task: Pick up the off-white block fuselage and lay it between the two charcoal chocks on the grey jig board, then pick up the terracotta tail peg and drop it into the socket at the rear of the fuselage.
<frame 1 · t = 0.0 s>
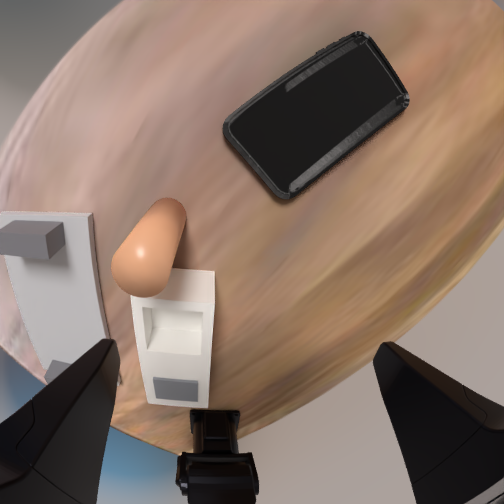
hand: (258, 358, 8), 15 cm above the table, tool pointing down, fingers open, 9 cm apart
tail peg: (167, 216, 21), on the table
fuselage: (179, 326, 26), on the table
jig board: (59, 306, 23), on the table
phone: (322, 107, 19), on the table
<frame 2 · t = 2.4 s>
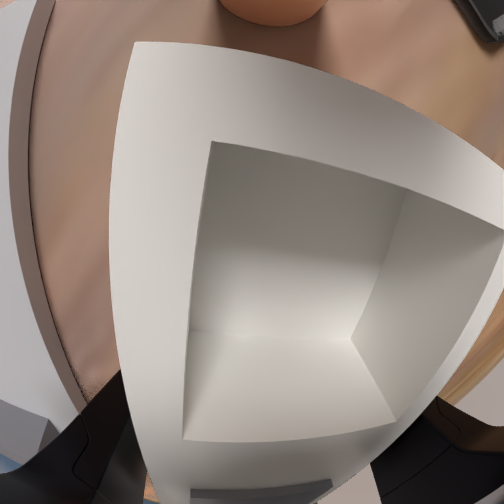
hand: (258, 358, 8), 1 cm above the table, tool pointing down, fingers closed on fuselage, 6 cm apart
fuselage: (255, 327, 9), on the table, touching gripper
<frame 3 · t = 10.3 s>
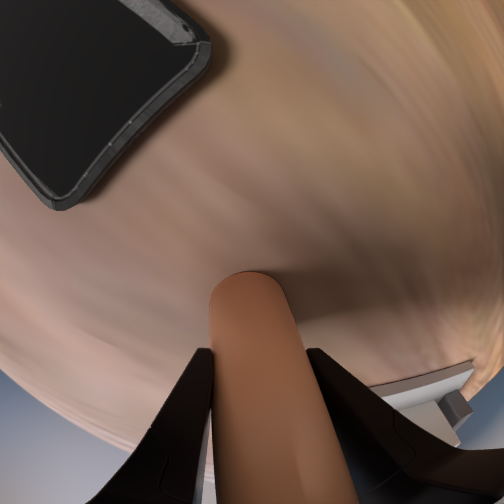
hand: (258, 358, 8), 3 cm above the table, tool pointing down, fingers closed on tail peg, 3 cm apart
tail peg: (247, 304, 11), on the table, touching gripper
fuselage: (356, 437, 16), point 1 cm above the table, touching jig board
jig board: (356, 427, 17), on the table
phone: (37, 33, 6), on the table
when the fingers open (7 cm above the table, at t = 14.1 s): tail peg stays where it is, resting on fuselage.
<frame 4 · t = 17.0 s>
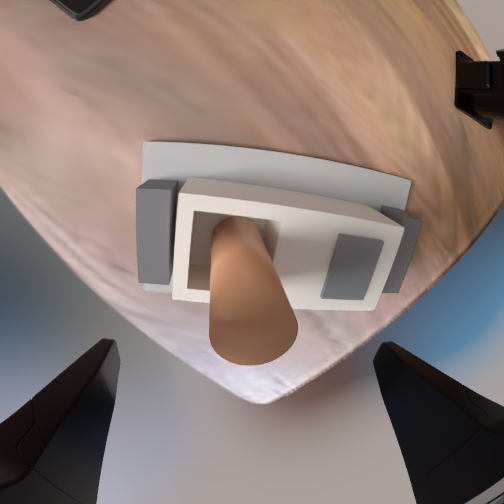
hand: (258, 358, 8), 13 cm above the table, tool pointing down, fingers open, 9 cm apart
tail peg: (236, 239, 17), point 3 cm above the table, touching fuselage
fuselage: (277, 231, 20), point 1 cm above the table, touching jig board, tail peg
jig board: (280, 227, 21), on the table
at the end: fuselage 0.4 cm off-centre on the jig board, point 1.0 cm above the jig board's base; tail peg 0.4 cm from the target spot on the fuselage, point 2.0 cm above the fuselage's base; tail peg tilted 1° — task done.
